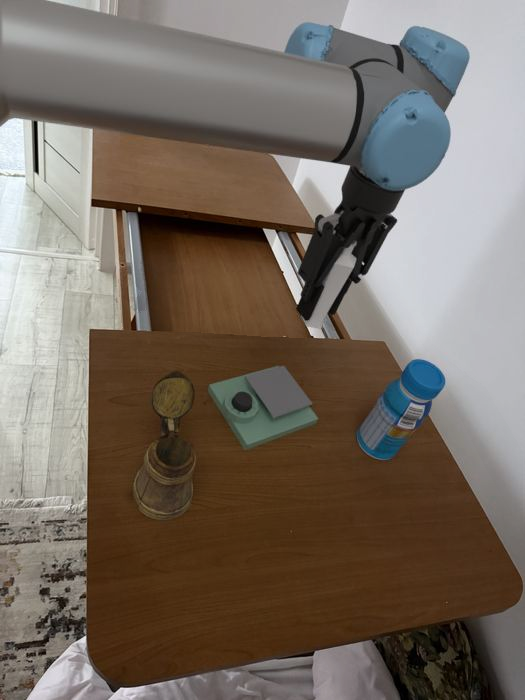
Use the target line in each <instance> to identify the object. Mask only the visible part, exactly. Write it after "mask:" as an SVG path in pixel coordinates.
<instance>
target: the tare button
mask: <svg viewBox="0 0 525 700" xmlns="http://www.w3.org/2000/svg"><path fill="white" fill-rule="evenodd" d="M252 401H253V399H252V397H251V395H250V394H248V393H247V392H238V393H236V395H235V397H234V400H233V407H234V408H235V409H236V410H238V411H240V412H246V411H248V410H249V409H250V406H251V404H252Z"/></svg>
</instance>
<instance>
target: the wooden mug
mask: <svg viewBox="0 0 525 700" xmlns="http://www.w3.org/2000/svg"><path fill="white" fill-rule="evenodd" d="M195 391H196V390H195V387H194V384H193V383H192V381H191V379H190V378H188V377H187V375H185V374H183V373H182V371H179V370H177V369H174V370H173V371H171V372H169V373H168V374H165V376H163V377H162V378H161V379H159V380H158V381H157V382H156V383H155V385H154V386H153V389H152V393H151V407H152V410H153V411H154V413H155V414H156V415H157V416H158V417H159V419H161V421H160V428H159V429H160V430H159V433H161V434H160V436H159V437H158V438H156V439H155V440H154V441H153V442H152V443H151V444H150V445H149V447H148V448H147V450H146V452H145V454H144V455H143V456H144V457H143V465H142V467H141V468H140V469H139V470H138V471H137V473H136V476H135V477H134V481H133V483H132V486H131V487H132V495H133V500H134V503H135V504H136V507H137V509H138V510H139V512H141V514H142V515H145V516H146V517H147V518H150V519H153V520H157V521H170V520H171V521H172V520H173V519H175V518H179V517H180V516H182V515H183V514H185V513H186V512H187V510H188V509H189V508H190V506H191V503H192V501H193V493H194V486H193V474H194V472H195V469H196V453H195V447H194V444H193V443H192V442H191V441H190V440H189V439H187V438H185V437H184V436H181V435H179V434H178V433H179V432H180V427H181V425H180V424H181V418H182V417H184V416H186V415H187V414H188V413H189V412H190V410H192V408H193V406H194V402H195V396H196V393H195Z"/></svg>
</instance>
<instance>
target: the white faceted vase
mask: <svg viewBox="0 0 525 700" xmlns="http://www.w3.org/2000/svg"><path fill="white" fill-rule="evenodd" d="M356 244H357V241H355V240H354V241H353V242H352V244H351V245H350V247H349V248H345V249H344V250H343V252H342V253H341V255H340V256H339V258H338V260H337V261H336V263H334V266H333V267H332V269H331V270H330V272H329V273H328V275H327V276H326V278H325V279H324V281H323V283H322V284H323V286H324V289H323V292H322V294H321V296H320V298H319V300H318V302H317V305H316V307H315V309H314V311H313V313H312V316H311V318H310V320H307V321H305V319H304V318H303V317H302V316H301V315H300V318H301V319H302V321H303V323H304V325H305V326H306V327H308V328H313V329H318V330H322V329H323V325H324V323H325V318H326V316H327V314H328V313H329V312H328V311H329V309H330V307H331V306H332V304H333V302H334V301H335V299H336V297H337V295H338V294H339V292H340V290H341V289H342V287H343V285H344V283H345V282H346V280H347V278H348V277H349V275H350V273H351V271H352V270H353V268H354V266H355V263H356V257H355V256H353V255H352V254H351V252H352V250H353V248H354V246H356Z"/></svg>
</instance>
